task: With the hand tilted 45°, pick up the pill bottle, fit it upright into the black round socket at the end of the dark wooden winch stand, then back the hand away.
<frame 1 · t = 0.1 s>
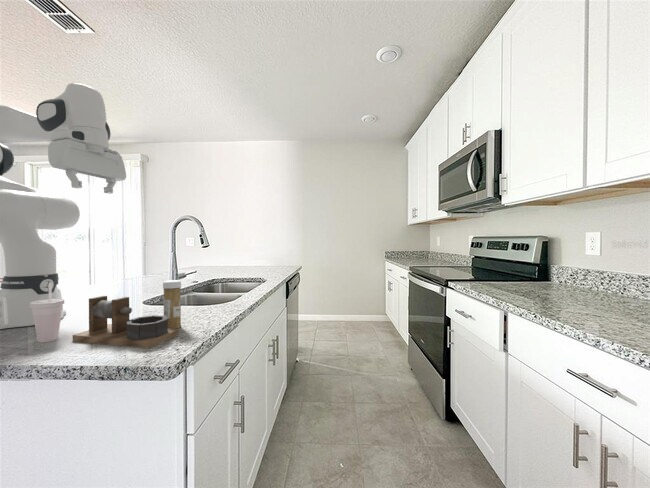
hand: (93, 190, 86), 39 cm above the worktop, tool pointing down, fingers open, 8 cm apart
pill bottle: (172, 328, 85), on the worktop
winch stand: (127, 338, 77), on the worktop
smoothie: (47, 340, 75), on the worktop
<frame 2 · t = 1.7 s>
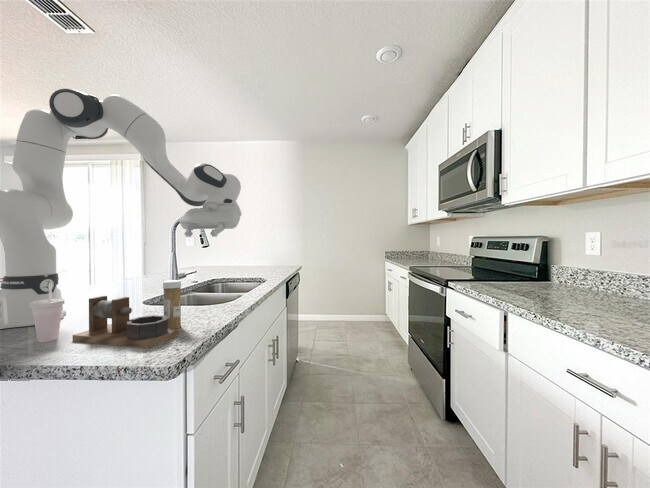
hand: (200, 235, 97), 26 cm above the worktop, tool tilted 45°, fingers open, 8 cm apart
nothing on the worktop moved.
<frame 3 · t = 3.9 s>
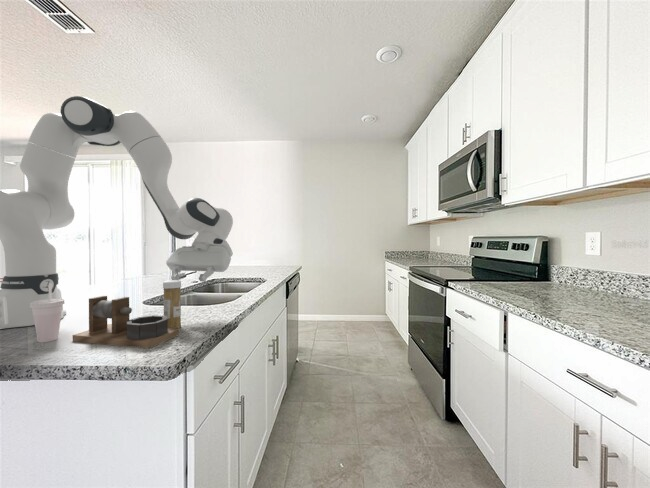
hand: (187, 279, 92), 13 cm above the worktop, tool tilted 45°, fingers open, 8 cm apart
nothing on the worktop moved.
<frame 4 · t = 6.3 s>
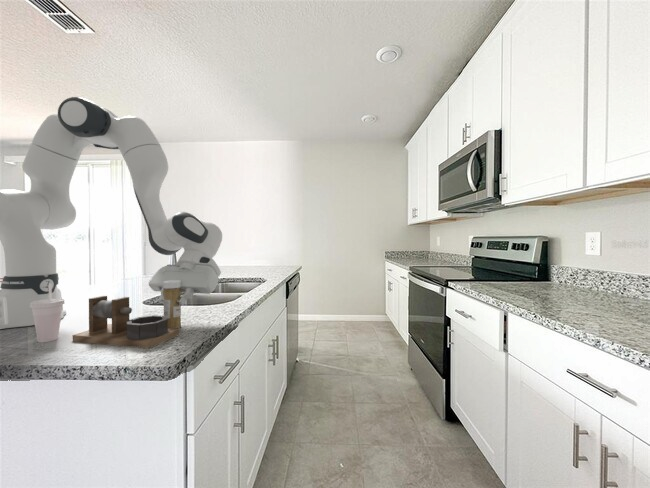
hand: (170, 303, 85), 7 cm above the worktop, tool tilted 45°, fingers closed on pill bottle, 4 cm apart
pill bottle: (172, 328, 85), on the worktop, touching gripper
everything else where it was.
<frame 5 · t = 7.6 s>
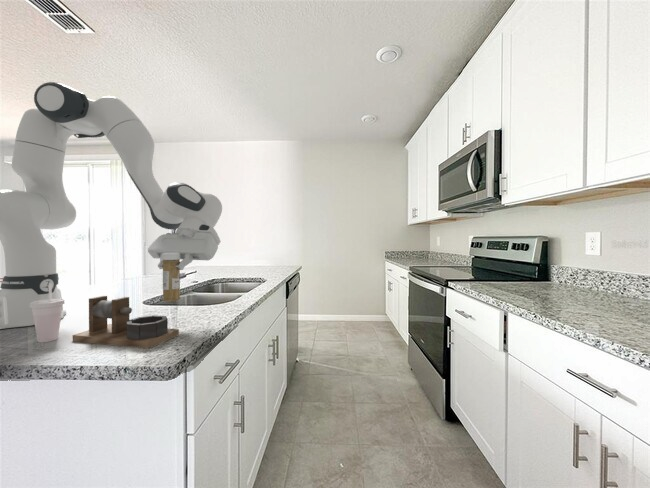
hand: (169, 268, 84), 17 cm above the worktop, tool tilted 45°, fingers closed on pill bottle, 4 cm apart
pill bottle: (171, 300, 85), point 8 cm above the worktop, touching gripper
everything else where it was.
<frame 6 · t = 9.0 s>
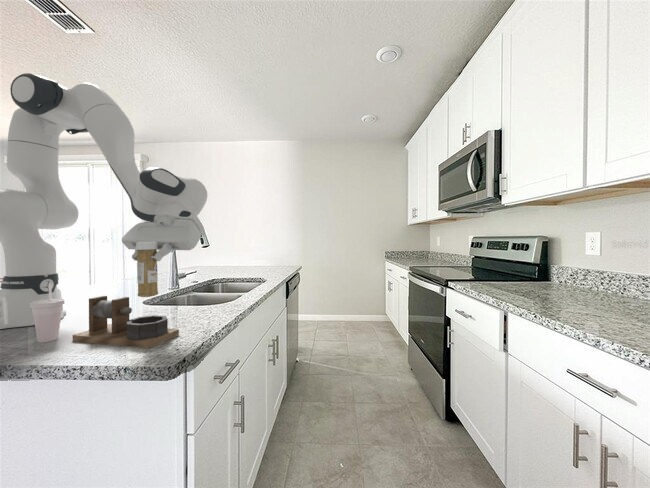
hand: (145, 259, 75), 20 cm above the worktop, tool tilted 45°, fingers closed on pill bottle, 4 cm apart
pill bottle: (147, 296, 75), point 11 cm above the worktop, touching gripper
everything else where it was.
when the fingers open (10 cm above the worktop, at t = 11.6 s): pill bottle stays where it is, resting on winch stand.
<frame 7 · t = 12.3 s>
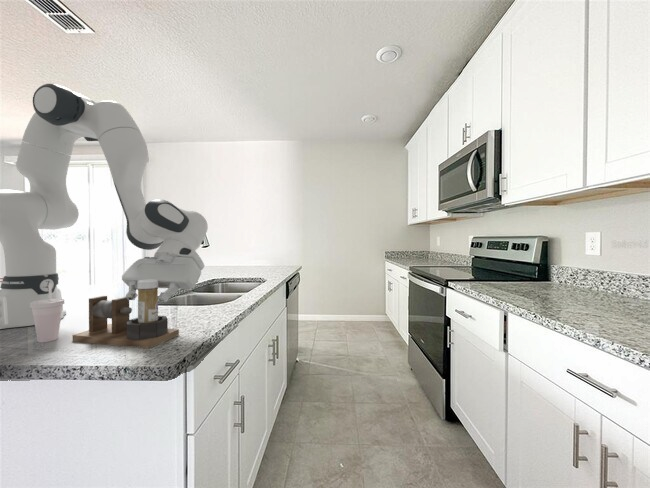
hand: (145, 299, 75), 10 cm above the worktop, tool tilted 45°, fingers open, 8 cm apart
pill bottle: (148, 334, 75), point 1 cm above the worktop, touching winch stand
everything else where it was.
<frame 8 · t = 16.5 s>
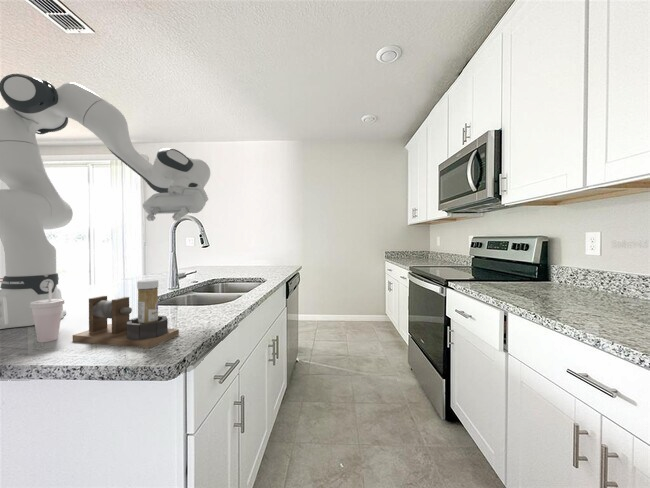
hand: (162, 219, 95), 31 cm above the worktop, tool tilted 45°, fingers open, 8 cm apart
nothing on the worktop moved.
at the end: pill bottle 0.1 cm from the target spot on the winch stand, point 1.3 cm above the winch stand's base; pill bottle tilted 0°; the gripper is holding nothing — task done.
